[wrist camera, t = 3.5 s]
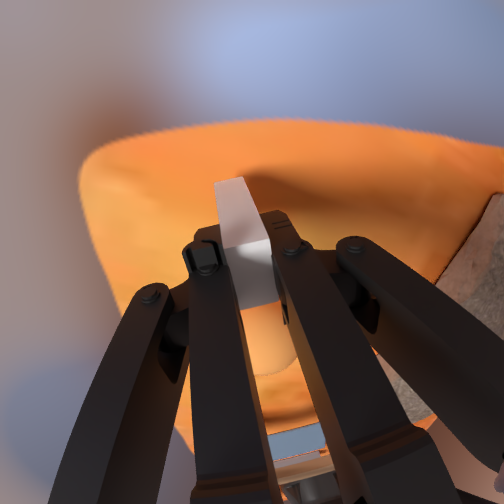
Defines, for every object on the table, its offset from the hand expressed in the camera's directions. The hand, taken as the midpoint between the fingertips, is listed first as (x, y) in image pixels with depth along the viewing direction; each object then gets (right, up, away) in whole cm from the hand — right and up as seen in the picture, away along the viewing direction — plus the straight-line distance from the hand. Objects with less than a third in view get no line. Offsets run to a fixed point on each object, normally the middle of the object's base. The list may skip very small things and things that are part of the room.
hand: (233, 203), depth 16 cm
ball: (+2, -8, +5) cm, 10 cm away
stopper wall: (+8, -38, +27) cm, 48 cm away
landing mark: (+6, -32, +23) cm, 40 cm away
